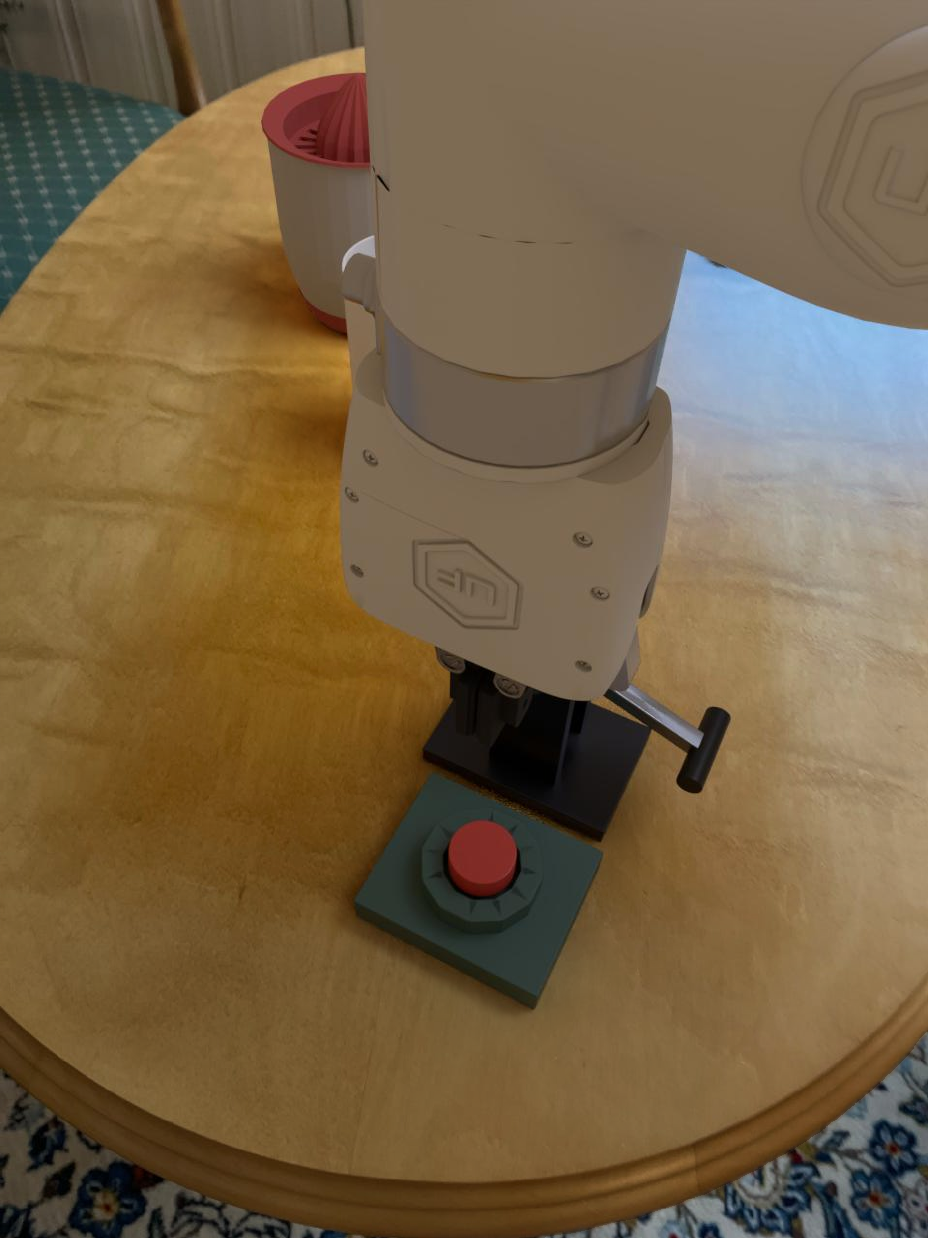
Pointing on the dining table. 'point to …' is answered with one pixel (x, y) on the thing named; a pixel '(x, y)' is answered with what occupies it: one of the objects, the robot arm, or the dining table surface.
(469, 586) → the robot arm
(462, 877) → the button
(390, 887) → the button box
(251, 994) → the dining table surface
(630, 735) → the bracket
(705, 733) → the lever
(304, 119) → the citrus juicer
